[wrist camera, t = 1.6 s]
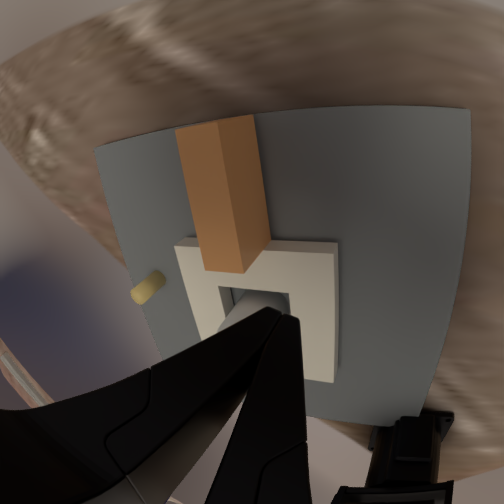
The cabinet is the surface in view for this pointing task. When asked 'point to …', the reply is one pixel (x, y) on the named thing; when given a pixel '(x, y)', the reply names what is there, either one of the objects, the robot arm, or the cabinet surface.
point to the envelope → (22, 379)
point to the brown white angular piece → (250, 243)
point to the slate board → (323, 238)
